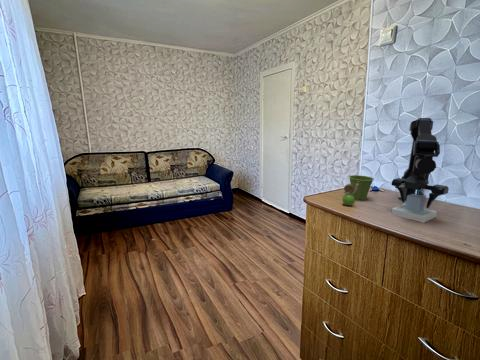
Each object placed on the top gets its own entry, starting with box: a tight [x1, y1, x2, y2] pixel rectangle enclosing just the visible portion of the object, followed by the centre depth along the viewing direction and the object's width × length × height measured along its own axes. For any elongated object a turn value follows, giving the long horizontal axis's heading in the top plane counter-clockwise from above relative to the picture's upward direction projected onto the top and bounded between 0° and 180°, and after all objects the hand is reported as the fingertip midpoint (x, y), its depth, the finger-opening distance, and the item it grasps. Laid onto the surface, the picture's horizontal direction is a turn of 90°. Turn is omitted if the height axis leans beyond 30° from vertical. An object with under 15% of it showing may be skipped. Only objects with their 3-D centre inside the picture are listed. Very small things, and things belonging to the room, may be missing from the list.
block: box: [405, 193, 427, 212], centre depth 103 cm, size 5×5×6 cm
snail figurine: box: [342, 181, 359, 206], centre depth 116 cm, size 5×6×12 cm
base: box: [391, 203, 437, 224], centre depth 104 cm, size 12×12×3 cm
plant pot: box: [348, 174, 375, 201], centre depth 127 cm, size 12×12×11 cm
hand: (414, 205), depth 104 cm, fingers open, 9 cm apart
